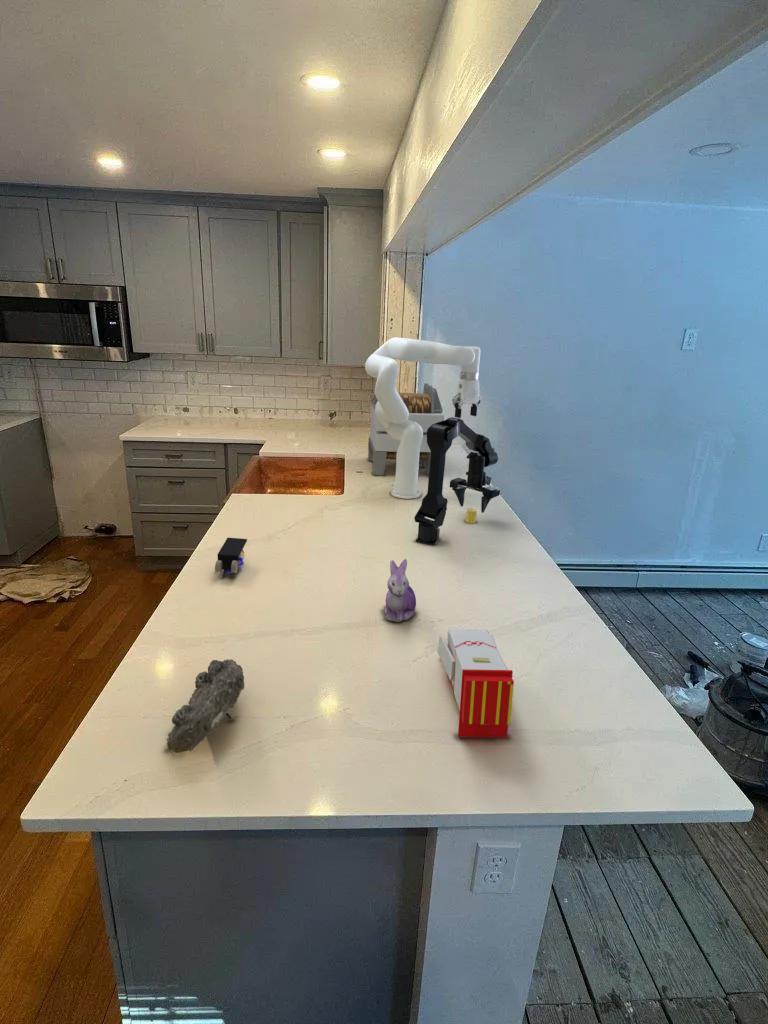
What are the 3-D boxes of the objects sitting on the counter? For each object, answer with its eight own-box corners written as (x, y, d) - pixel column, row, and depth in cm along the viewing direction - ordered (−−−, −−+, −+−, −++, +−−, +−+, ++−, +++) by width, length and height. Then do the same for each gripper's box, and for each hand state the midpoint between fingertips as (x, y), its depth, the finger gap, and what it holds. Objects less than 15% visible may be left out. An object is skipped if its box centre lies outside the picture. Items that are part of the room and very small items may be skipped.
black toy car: (238, 584, 162) (249, 557, 175) (236, 562, 158) (247, 536, 172) (215, 584, 161) (227, 556, 175) (212, 561, 158) (225, 535, 171)
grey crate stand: (367, 457, 298) (369, 379, 284) (428, 458, 302) (433, 380, 288) (373, 475, 266) (376, 388, 253) (441, 476, 270) (448, 390, 256)
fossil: (192, 660, 117) (244, 628, 112) (224, 691, 120) (276, 661, 115) (142, 746, 98) (202, 712, 93) (182, 779, 101) (242, 748, 96)
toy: (488, 613, 130) (523, 677, 101) (484, 667, 133) (517, 744, 104) (435, 612, 130) (455, 676, 101) (432, 666, 133) (451, 743, 103)
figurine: (392, 627, 141) (395, 572, 136) (374, 608, 149) (376, 556, 144) (425, 619, 145) (429, 566, 140) (405, 601, 154) (408, 550, 149)
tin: (464, 522, 214) (465, 510, 212) (466, 519, 217) (467, 507, 215) (474, 523, 213) (475, 512, 211) (476, 520, 216) (477, 509, 214)
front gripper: (509, 470, 208) (504, 510, 213) (466, 460, 219) (463, 498, 224) (493, 476, 200) (489, 517, 205) (450, 465, 211) (447, 505, 216)
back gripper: (461, 378, 233) (457, 419, 239) (489, 376, 244) (485, 416, 249) (448, 376, 239) (445, 416, 245) (476, 374, 249) (472, 413, 255)
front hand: (472, 509), depth 213 cm, fingers open, 9 cm apart
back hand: (465, 416), depth 247 cm, fingers open, 9 cm apart
